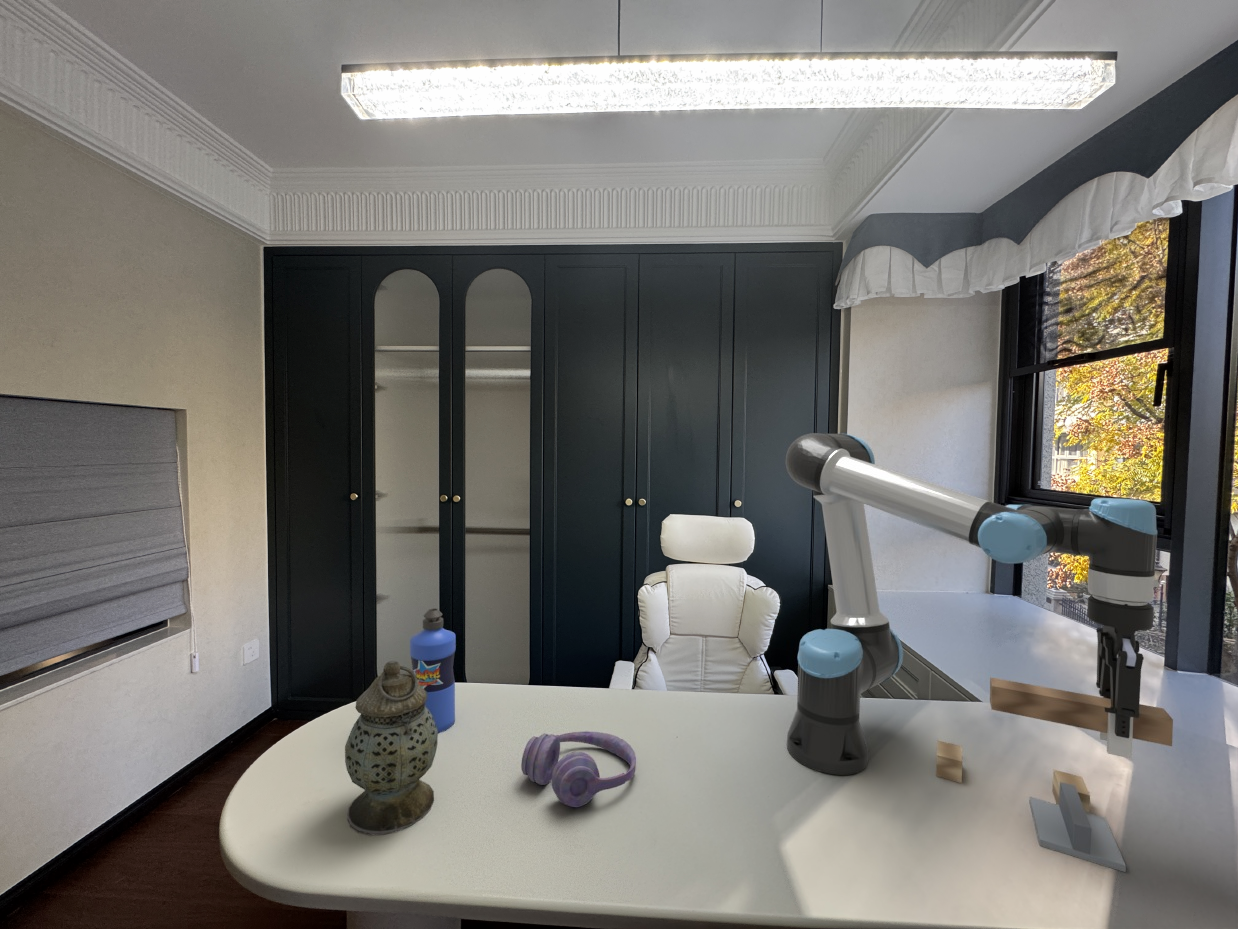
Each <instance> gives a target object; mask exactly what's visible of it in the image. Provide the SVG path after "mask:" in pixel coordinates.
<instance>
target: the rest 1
mask: <svg viewBox="0 0 1238 929" xmlns="http://www.w3.org/2000/svg"><path fill="white" fill-rule="evenodd" d="M936 744H937V746H936V770H935V771H936V772H935V773H936V775H935V776H936V777H939V778H943V779H946V780H950V781H952V782H956V783H959V784H962V781H963V780H962V779H963V778H962V777H963V751H962V750H963V747H962V745H958V744H954V743H950V742H946V741H942V740H939V739H937V742H936Z"/></svg>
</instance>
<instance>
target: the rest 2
mask: <svg viewBox="0 0 1238 929" xmlns="http://www.w3.org/2000/svg"><path fill="white" fill-rule="evenodd" d="M1052 775H1053V776H1052V791H1051V792H1052V795H1053V798H1054V800H1055V804H1058V805H1059V790H1060V782H1063V783H1066V784H1070V785H1074V786H1075V787H1076V790H1077V792H1078V795H1079V797H1080V800H1081V803H1082V805H1083V808H1084V810H1085V812H1087V813H1090V807H1091V794H1090V792H1089V790H1088V787H1087V784H1086V782H1085V779H1084V777H1083V776H1081V775H1078V774H1077V775H1076V774H1073V773H1069V772H1065V771H1060V770H1057V769H1053V772H1052Z"/></svg>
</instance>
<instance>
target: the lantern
mask: <svg viewBox="0 0 1238 929" xmlns="http://www.w3.org/2000/svg"><path fill="white" fill-rule="evenodd" d="M426 700H427V692H426V691H425V690H424V689H423V688H422V687H421V686H420V685H419V684H418V680H417V677H416V675H415V674H414V673H413V670H412V669H411V668H408V667H406V666H404V665H403V666H402V665H400V663H399V662H398V661H396V660H389V661H388V662H386V663H385V664H384V667H383V671H382V672H381V674H380V675H379V676H377V677H376V678H375V679H374V680H373V682H372V683H371V685H369V687H368V688H367V689H366V690H365V691H363V693H362V694H361V695H359V697H358V698H357V699H356V701H355V707H354V708H355V710H356V711H357V713H358V714H359V716H358V718H357V720H356V721H355V723H354V724H353V726H352V727H351V730H350V733H349V735H348V738H347V740H346V743H345V745H344V762H345V768H346V771H347V774H348V776H349V778H350V780H351V783H353V784H355V785H356V786H358V787H359V788H361V789H363V792H362V793H360V794H359V795H358V796H357V797H356V798H355V799H354V800H353V801H352V802H351V803H350V805H349V806H348V808H347V822H348V824H349V827H350V828H351V829H352V830H354V831H355V832H357V833H358V834H359V833H360V834H365V835H369V836H383V835H388V834H392V833H397V832H400V831H402V830H404V829H407V828H408V827H411V826H413V825H414V824H416V823H418V822H419V821H420V820H422V819H423V818H424V817H425V816H426V815H427V814H428V813H429V812H430V811H431V809H432V807H433V804H434V803H435V795H434V794H435V793H434V792H435V791H434V790H433V788H432V787H431V785H430V784H428V783H426V782H425V781H422V780H421V778H423V777H424V776H425V774H426V773H427V772H428V771H429V770H430V769H431V768H432V766H433V762H434V759H435V757H436V754H437V749H438V735H439V733H438V730H437V727H436V724H435V722H434V719H433V716H432V715H431V713H430V711H429V710H428V709H427V707H426V706H425V702H426Z"/></svg>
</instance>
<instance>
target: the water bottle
mask: <svg viewBox="0 0 1238 929" xmlns="http://www.w3.org/2000/svg"><path fill="white" fill-rule="evenodd" d="M442 616H443V613H442V612H441V611H440V610H439V609H438V608H430V609H428V610H427V611H426V612H425V613H424V614H423V618H424V619H423V620H422V630H421V631H420V632H418V633H416V634H414V635H412V636H411V637H410V638H409V656H410V659H411V668H412V669H411V670H412V671H413V673H414V674H415V675H416V677H417V680H418V684H419V685H420V686H421V687H422V688H423V689H424V690H425V691H426V692H427V700H426V702H425V706H426V707H427V709H428V710H429V711H430V713H431V715H432V716H433V719H434V722H435V724H436V727H437V730H438V734H439V733H440V734H441V733H443V732H445V731H447V730H449V729H450V728H452V726H454V724H455V722H456V721H455V720H456V706H455V705H456V682H455V681H456V680H455V675H454V668H453V667H454V659H455V652H456V646H457V644H456V643H457V642H456V641H457V640H456V637H457V636H456V633H455V632H453V631H452V630H447V629H445V628H444V618H443V617H442Z"/></svg>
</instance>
